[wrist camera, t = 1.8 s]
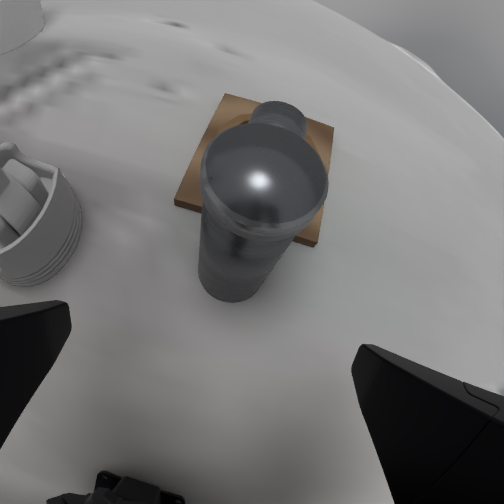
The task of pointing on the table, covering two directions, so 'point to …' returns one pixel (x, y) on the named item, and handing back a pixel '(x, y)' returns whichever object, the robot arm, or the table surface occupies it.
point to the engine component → (34, 218)
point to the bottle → (19, 22)
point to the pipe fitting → (256, 198)
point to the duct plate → (228, 114)
